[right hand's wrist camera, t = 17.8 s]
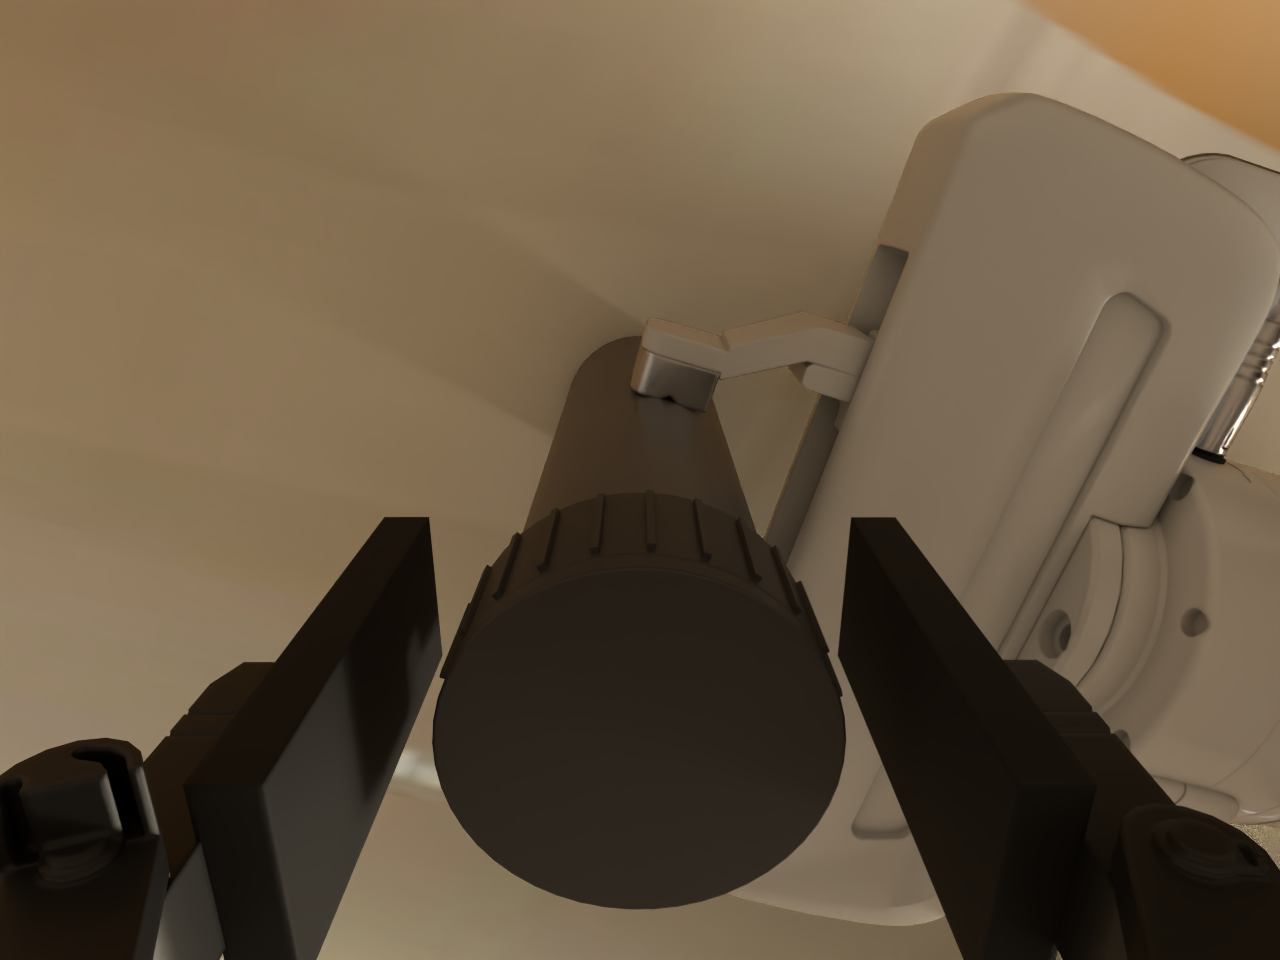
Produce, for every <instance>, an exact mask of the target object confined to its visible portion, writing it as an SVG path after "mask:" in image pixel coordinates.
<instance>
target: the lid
mask: <svg viewBox="0 0 1280 960" xmlns="http://www.w3.org/2000/svg"><path fill="white" fill-rule="evenodd" d="M829 652H830V650H829V648H828V645H827V643H826V640H825V638H824V635H823V633H822V630H821V628H820V626H819V623H818V621H817V618H816V616H815V613H814V611H813V608H812V606H811V603H810V601H809V598H808V596H807V593H806V591H805V588H804V586H803V584H802V582H801V581H798V582H796V581H795V580H794V578H793V576H792V574H791V573H790V571H789V569H788V568H787V566H786V564H785V563H784V560H783V557H782V555H781V552H780V549H779V548H778V547H777V546H776V545H775V546H774V547H771V546H770V545H769V544H768V543H767V542H766V541H765V540H764V539H763V538H761V537H760V536H759V535H758V534H757V533H756V532H755V531H753V530H752V529H750V528H749V527H748V526H747V525H746V522H745V520H744V519H742V518H741V517H738V519H736V518H734V517H732V516H730V515H728V514H727V513H725V512H723V511H721V510H719V509H717V508H714V507H711V506H709V505H706V504H703V503H702V500H701V499H698V498H695V499H694V500H691V499H687V498H683V497H679V496H674V495H667V494H658V493H654V491H653V490H646V493H620V494H612V495H604V493H601V494H597V496H596V498H592V499H588V500H584V501H580V502H577V503H575V504H572V505H570V506H567V507H565V508H562V509H560V510H559V509H558V508H555V509H553V510H551V512H550V515H549V516H547V517H545V518H543V519H541V520H540V521H538V522H536V523H535V524H534V525H532V526H531V527H530V528H528V529H527V530H526V531H524V532H523V533H522V534H519V533H518V532H517V533H516V534H515V535H513V536H512V539H511V542H510V545H509V546H508V547H507V548H506V549H505V550H504V551H503V552H502V554H501V555H500V556H499V558H498V559H497V560H496V562H495V563H494V564H493V566H492V567H490V566H488V565H487V566H486V567H485V569H484V571H483V573H482V576H481V578H480V581H479V583H478V586H477V588H476V591H475V593H474V596H473V598H472V601H471V603H468V606H467V608H466V611H465V613H464V616H463V618H462V621H461V623H460V626H459V628H458V630H457V633H456V635H455V638H454V640H453V643H452V645H451V648H450V650H449V653H448V655H447V658H446V660H445V663H444V665H443V668H442V670H441V673H440V678H443V679H445V680H444V683H443V685H442V688H441V691H440V693H439V696H438V699H437V704H436V709H435V714H434V719H433V739H432V744H433V753H434V761H435V767H436V770H437V774H438V778H439V781H440V785H441V788H442V790H443V793H444V795H445V797H446V799H447V802H448V804H449V806H450V808H451V810H452V811H453V813H454V815H455V816H456V818H457V819H458V821H459V822H460V824H461V826H462V827H463V828H464V830H465V831H466V832H467V833H468V834H469V836H470V837H471V838H472V839H473V840H474V841H475V843H476V844H477V845H478V846H479V847H480V848H481V849H482V850H483V851H485V852H486V853H487V854H488V855H489V856H490V857H491V858H492V859H493V860H494V861H496V862H497V863H499V864H500V865H501V866H503V867H504V868H505V869H507V870H508V871H510V872H511V873H512V874H514V875H516V876H518V877H519V878H521V879H523V880H525V881H527V882H528V883H530V884H532V885H534V886H536V887H538V888H541V889H543V890H545V891H548V892H550V893H552V894H555V895H557V896H561V897H564V898H567V899H571V900H574V901H577V902H581V903H586V904H591V905H596V906H601V907H609V908H620V909H659V908H669V907H678V906H683V905H688V904H692V903H697V902H702V901H705V900H708V899H711V898H715V897H718V896H721V895H724V894H727V893H729V892H731V891H733V890H736V889H738V888H740V887H742V886H745V885H747V884H749V883H751V882H752V881H754V880H756V879H757V878H759V877H761V876H763V875H764V874H766V873H768V872H769V871H771V870H772V869H773V868H775V867H776V866H777V865H779V864H780V863H781V862H783V861H784V860H785V859H787V858H788V857H789V856H790V855H791V854H792V853H793V852H794V851H795V850H796V849H797V848H798V847H799V846H800V845H801V844H802V843H803V842H804V841H805V840H806V839H807V838H808V836H809V835H810V834H811V833H812V831H813V830H814V829H815V828H816V826H817V825H818V824H819V822H820V820H821V819H822V817H823V815H824V814H825V812H826V810H827V809H828V807H829V806H830V803H831V801H832V799H833V796H834V794H835V791H836V789H837V787H838V784H839V780H840V776H841V772H842V768H843V764H844V759H845V748H846V727H845V715H844V711H843V707H842V702H841V698H840V697H842V696H843V694H842V689H841V686H840V684H839V681H838V679H837V676H836V674H835V671H834V669H833V666H832V664H831V661H830V659H829V656H828V653H829Z"/></svg>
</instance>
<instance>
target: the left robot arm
mask: <svg viewBox="0 0 1280 960" xmlns="http://www.w3.org/2000/svg"><path fill="white" fill-rule="evenodd" d="M1279 347H1280V172H1277V171H1274V170H1271V169H1268V168H1266V167H1263V166H1260V165H1257V164H1254V163H1251V162H1248V161H1245V160H1242V159H1239V158H1236V157H1233V156H1231V155H1227V154H1219V153H1203V154H1197V155H1192V156H1188V157H1185V158H1182V159H1179V158H1177V157H1175V156H1173V155H1171V154H1169V153H1168V152H1166V151H1164V150H1162V149H1160V148H1159V147H1157V146H1155V145H1153V144H1151V143H1149V142H1148V141H1146V140H1144V139H1141V138H1139V137H1137V136H1135V135H1133V134H1131V133H1129V132H1127V131H1125V130H1123V129H1121V128H1119V127H1117V126H1115V125H1113V124H1111V123H1109V122H1106V121H1104V120H1102V119H1100V118H1098V117H1095V116H1093V115H1091V114H1088V113H1086V112H1084V111H1081V110H1079V109H1076V108H1074V107H1072V106H1069V105H1067V104H1064V103H1061V102H1059V101H1056V100H1053V99H1051V98H1047V97H1044V96H1041V95H1037V94H1032V93H1002V94H996V95H990V96H986V97H983V98H979V99H976V100H974V101H971V102H969V103H966V104H964V105H962V106H960V107H958V108H956V109H954V110H952V111H949V112H947V113H946V114H944V115H942V116H940V117H938V118H936V119H934V120H932V121H930V122H929V123H928V124H926V125H925V126H924V127H923V128H922V130H921V131H920V132H919V134H918V136H917V138H916V140H915V142H914V145H913V147H912V150H911V153H910V155H909V158H908V160H907V163H906V166H905V168H904V171H903V174H902V176H901V179H900V181H899V184H898V187H897V189H896V192H895V195H894V197H893V200H892V203H891V205H890V208H889V210H888V213H887V216H886V218H885V221H884V224H883V226H882V229H881V231H880V234H879V237H878V239H877V242H876V245H875V247H874V250H873V252H872V255H871V258H870V260H869V263H868V266H867V268H866V271H865V273H864V276H863V279H862V281H861V284H860V287H859V289H858V292H857V294H856V297H855V300H854V302H853V305H852V308H851V310H850V313H849V316H848V318H847V321H846V323H845V324H843V323H840V322H837V321H833V320H830V319H827V318H823V317H820V316H816V315H813V314H810V313H806V312H803V311H801V312H797V313H793V314H790V315H786V316H782V317H778V318H774V319H770V320H766V321H762V322H758V323H754V324H750V325H746V326H742V327H738V328H734V329H730V330H726V331H722V333H721V336H717V335H714V334H710V333H707V332H703V331H700V330H697V329H693V328H690V327H687V326H683V325H680V324H677V323H673V322H670V321H666V320H662V319H656V318H647V322H646V325H645V329H644V332H643V336H642V338H641V342H640V345H639V349H638V353H637V356H636V360H635V364H634V367H633V371H632V375H631V379H630V380H631V382H630V387H631V388H632V389H633V390H634V391H636V392H638V393H640V394H642V395H645V396H648V397H651V398H657V399H661V398H665V397H668V396H671V397H672V399H673V400H674V401H675V402H676V404H678V405H680V406H683V407H686V408H689V409H693V410H697V411H700V412H704V413H706V411H707V409H708V406H709V403H710V400H711V398H712V395H713V392H714V389H715V386H716V384H717V381H718V378H719V379H720V380H723V379H728V378H732V377H737V376H742V375H746V374H751V373H755V372H760V371H765V370H769V369H774V368H779V367H783V366H787V367H788V369H789V370H790V371H791V372H792V374H793V375H794V376H795V377H796V379H797V380H798V381H799V382H800V384H801V385H802V386H803V387H804V389H807V390H810V391H813V392H816V393H819V394H818V397H817V400H816V402H815V405H814V407H813V410H812V413H811V415H810V418H809V421H808V423H807V426H806V428H805V431H804V434H803V436H802V439H801V442H800V444H799V447H798V450H797V452H796V455H795V457H794V460H793V463H792V465H791V468H790V471H789V473H788V476H787V478H786V481H785V484H784V486H783V489H782V492H781V494H780V497H779V499H778V502H777V505H776V507H775V510H774V513H773V515H772V518H771V520H770V523H769V526H768V528H767V531H766V534H765V536H764V540H765V541H766V542H767V543H768V544H769V545H770V546H771V547H774V546H775V545H776V546H777V547H778V548H779V549H780V552H781V555H782V557H783V560H784V563H785V564H786V566H787V568H788V569H789V571H790V573H791V574H792V576H793V578H794V580H795V581H796V582H798V581H801V582H802V584H803V586H804V588H805V591H806V593H807V596H808V598H809V601H810V603H811V606H812V608H813V611H814V613H815V616H816V618H817V621H818V623H819V626H820V628H821V630H822V633H823V635H824V638H825V640H826V643H827V645H828V648H829V650H830V652H829V653H828V656H829V659H830V661H831V664H832V666H833V669H834V671H835V674H836V676H837V679H838V681H839V684H840V686H841V689H842V694H843V696H842V697H840V698H841V702H842V707H843V711H844V715H845V727H846V748H845V759H844V764H843V768H842V772H841V776H840V780H839V784H838V787H837V789H836V791H835V794H834V796H833V799H832V801H831V803H830V806H829V807H828V809H827V810H826V812H825V814H824V815H823V817H822V819H821V820H820V822H819V824H818V825H817V826H816V828H815V829H814V830H813V831H812V833H811V834H810V835H809V836H808V838H807V839H806V840H805V841H804V842H803V843H802V844H801V845H800V846H799V847H798V848H797V849H796V850H795V851H794V852H793V853H792V854H791V855H790V856H789V857H788V858H787V859H785V860H784V861H783V862H781V863H780V864H779V865H777V866H776V867H775V868H773V869H772V870H771V871H769V872H768V873H766V874H764V875H763V876H761V877H759V878H757V879H756V880H754V881H752V882H751V883H749V884H747V885H745V886H742V887H740V888H738V889H736V890H733V891H731V892H729V893H727V894H729V895H731V896H734V897H738V898H742V899H746V900H750V901H754V902H758V903H762V904H766V905H770V906H774V907H779V908H784V909H788V910H793V911H797V912H802V913H808V914H813V915H818V916H824V917H829V918H835V919H841V920H847V921H853V922H859V923H866V924H874V925H888V926H905V925H916V924H922V923H926V922H930V921H934V920H936V919H939V918H941V917H944V916H945V913H944V911H943V909H942V906H941V904H940V901H939V899H938V896H937V894H936V892H935V889H934V887H933V884H932V882H931V880H930V877H929V875H928V872H927V870H926V868H925V865H924V863H923V860H922V858H921V855H920V853H919V851H918V848H917V846H916V843H915V841H914V839H913V836H912V834H911V831H910V829H909V826H908V824H907V822H906V819H905V817H904V814H903V812H902V810H901V807H900V805H899V802H898V800H897V797H896V795H895V793H894V790H893V788H892V785H891V783H890V781H889V778H888V776H887V773H886V771H885V769H884V766H883V764H882V761H881V759H880V756H879V754H878V752H877V749H876V747H875V744H874V742H873V740H872V737H871V735H870V732H869V730H868V727H867V725H866V723H865V720H864V718H863V715H862V713H861V711H860V708H859V706H858V703H857V701H856V698H855V696H854V694H853V691H852V689H851V686H850V684H849V682H848V679H847V677H846V674H845V672H844V670H843V667H842V665H841V662H840V660H839V657H838V647H839V636H840V626H841V616H842V605H843V595H844V585H845V574H846V564H847V553H848V543H849V533H850V522H851V517H896V519H897V520H898V521H899V523H900V524H901V525H902V527H903V528H904V529H905V531H906V532H907V533H908V535H909V536H910V537H911V538H912V540H913V541H914V542H915V544H916V545H917V546H918V548H919V549H920V550H921V552H922V553H923V554H924V556H925V557H926V558H927V560H928V561H929V562H930V564H931V565H932V566H933V568H934V569H935V570H936V572H937V573H938V574H939V576H940V577H941V578H942V580H943V581H944V582H945V584H946V585H947V586H948V588H949V589H950V590H951V592H952V593H953V594H954V596H955V597H956V598H957V600H958V601H959V602H960V604H961V605H962V606H963V608H964V609H965V610H966V611H967V613H968V614H969V615H970V617H971V618H972V619H973V621H974V622H975V623H976V625H977V626H978V627H979V629H980V630H981V631H982V633H983V634H984V635H985V637H986V638H987V639H988V641H989V642H990V643H991V645H992V646H993V647H994V649H995V650H996V651H997V653H998V654H999V655H1000V657H1001V658H1002V659H1003V660H1038V661H1040V662H1041V663H1043V664H1044V665H1046V666H1047V667H1049V668H1050V669H1052V670H1054V671H1055V672H1057V673H1058V674H1060V675H1061V676H1063V677H1064V678H1066V679H1067V680H1069V681H1070V682H1071V683H1072V684H1073V685H1074V686H1075V687H1076V689H1077V690H1078V691H1079V692H1080V693H1081V694H1082V696H1083V697H1084V698H1085V699H1086V700H1087V701H1088V703H1089V704H1090V705H1091V706H1092V711H1093V712H1097V713H1098V714H1099V715H1100V717H1101V718H1102V719H1103V720H1104V721H1105V722H1106V724H1107V725H1108V726H1109V727H1110V732H1111V733H1115V734H1116V735H1117V736H1118V738H1119V739H1120V740H1121V741H1122V742H1123V743H1124V745H1125V746H1126V747H1127V748H1128V749H1129V751H1130V752H1131V753H1132V754H1133V755H1134V756H1135V758H1136V759H1137V760H1138V761H1139V762H1140V763H1141V765H1142V766H1143V767H1144V768H1145V769H1146V770H1147V772H1148V773H1149V774H1150V775H1151V776H1152V777H1153V779H1154V780H1155V781H1156V782H1157V783H1158V784H1159V786H1160V787H1161V788H1162V789H1163V790H1164V791H1165V793H1166V794H1167V795H1168V796H1169V797H1170V798H1171V800H1172V801H1173V802H1174V803H1175V804H1176V805H1178V806H1184V807H1188V808H1191V809H1194V810H1197V811H1200V812H1203V813H1206V814H1209V815H1212V816H1214V817H1216V818H1218V819H1220V820H1222V821H1224V822H1225V823H1227V824H1228V823H1231V824H1240V825H1263V826H1272V827H1275V828H1278V829H1280V476H1279V475H1276V474H1272V473H1269V472H1266V471H1262V470H1259V469H1256V468H1252V467H1249V466H1246V465H1242V464H1239V463H1236V462H1233V461H1229V460H1226V459H1224V458H1223V457H1224V456H1225V455H1226V453H1227V451H1228V448H1230V446H1231V444H1232V442H1233V441H1234V439H1235V437H1236V435H1237V433H1238V432H1239V430H1240V428H1241V426H1242V425H1243V423H1244V421H1245V419H1246V418H1247V416H1248V414H1249V412H1250V411H1251V409H1252V407H1253V405H1254V404H1255V402H1256V400H1257V398H1258V396H1259V394H1260V392H1261V390H1262V387H1263V385H1262V383H1263V382H1265V380H1266V377H1267V375H1268V374H1267V371H1269V370H1270V368H1271V366H1272V363H1273V362H1272V361H1271V360H1272V359H1275V357H1276V355H1277V353H1278V352H1279V350H1278V348H1279Z"/></svg>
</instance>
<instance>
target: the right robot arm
mask: <svg viewBox="0 0 1280 960" xmlns="http://www.w3.org/2000/svg"><path fill="white" fill-rule="evenodd" d="M441 657H442V647H441V636H440V626H439V615H438V605H437V595H436V584H435V574H434V564H433V553H432V543H431V533H430V522H429V517H384V519H383V520H382V521H381V523H380V524H379V525H378V527H377V528H376V529H375V531H374V532H373V533H372V535H371V536H370V537H369V539H368V540H367V541H366V542H365V544H364V545H363V546H362V548H361V549H360V550H359V552H358V553H357V554H356V556H355V557H354V558H353V560H352V561H351V562H350V564H349V565H348V566H347V568H346V569H345V570H344V572H343V573H342V574H341V576H340V577H339V578H338V580H337V581H336V582H335V584H334V585H333V586H332V588H331V589H330V590H329V592H328V593H327V594H326V596H325V597H324V598H323V600H322V601H321V602H320V604H319V605H318V606H317V608H316V609H315V610H314V612H313V613H312V614H311V615H310V617H309V618H308V619H307V621H306V622H305V623H304V625H303V626H302V627H301V629H300V630H299V631H298V633H297V634H296V635H295V637H294V638H293V639H292V641H291V642H290V643H289V645H288V646H287V647H286V649H285V650H284V651H283V653H282V654H281V655H280V657H279V658H278V659H277V661H276V662H243V663H242V664H240V665H239V666H237V667H236V668H234V669H233V670H231V671H230V672H228V673H226V674H225V675H223V676H222V677H220V678H219V679H217V680H216V681H214V682H213V683H211V684H210V685H209V686H208V687H207V688H206V690H205V691H204V692H203V693H202V694H201V695H200V697H199V698H198V699H197V700H196V701H195V703H194V704H193V705H192V706H191V707H190V708H189V712H188V715H183V717H182V718H181V719H180V720H179V721H178V723H177V724H176V725H175V726H174V727H173V728H172V730H171V733H170V736H166V737H165V738H164V739H163V740H162V741H161V743H160V744H159V745H158V746H157V747H156V748H155V750H154V751H153V752H152V753H151V754H150V756H149V757H148V758H147V759H146V760H145V761H144V762H143V759H142V755H141V751H140V750H138V749H137V748H136V747H135V746H133V745H132V744H131V743H129V742H128V741H122V740H116V739H110V738H99V739H89V740H79V741H75V742H72V743H68V744H65V745H61V746H58V747H54V748H51V749H47V750H45V751H43V752H41V753H39V754H37V755H34V756H32V757H30V758H28V759H26V760H24V761H22V762H20V763H18V764H16V765H14V766H13V767H12V768H10V769H9V770H7V771H6V772H5V773H3V774H2V775H0V960H219V959H220V957H221V956H222V954H223V956H224V960H316V959H317V957H318V954H319V952H320V950H321V947H322V945H323V942H324V940H325V938H326V935H327V933H328V930H329V928H330V925H331V923H332V921H333V918H334V916H335V913H336V911H337V909H338V906H339V904H340V901H341V899H342V896H343V894H344V892H345V889H346V887H347V884H348V882H349V880H350V877H351V875H352V872H353V870H354V868H355V865H356V863H357V860H358V858H359V855H360V853H361V851H362V848H363V846H364V843H365V841H366V839H367V836H368V834H369V831H370V829H371V826H372V824H373V822H374V819H375V817H376V814H377V812H378V810H379V807H380V805H381V802H382V800H383V797H384V795H385V793H386V790H387V788H388V785H389V783H390V781H391V778H392V776H393V773H394V771H395V769H396V766H397V764H398V761H399V759H400V756H401V754H402V752H403V749H404V747H405V744H406V742H407V740H408V737H409V735H410V732H411V730H412V727H413V725H414V723H415V720H416V718H417V715H418V713H419V711H420V708H421V706H422V703H423V701H424V698H425V696H426V694H427V691H428V689H429V686H430V684H431V682H432V679H433V677H434V674H435V672H436V670H437V667H438V665H439V662H440V660H441ZM838 657H839V660H840V662H841V665H842V667H843V670H844V672H845V674H846V677H847V679H848V682H849V684H850V686H851V689H852V691H853V694H854V696H855V698H856V701H857V703H858V706H859V708H860V711H861V713H862V715H863V718H864V720H865V723H866V725H867V727H868V730H869V732H870V735H871V737H872V740H873V742H874V744H875V747H876V749H877V752H878V754H879V756H880V759H881V761H882V764H883V766H884V769H885V771H886V773H887V776H888V778H889V781H890V783H891V785H892V788H893V790H894V793H895V795H896V797H897V800H898V802H899V805H900V807H901V810H902V812H903V814H904V817H905V819H906V822H907V824H908V826H909V829H910V831H911V834H912V836H913V839H914V841H915V843H916V846H917V848H918V851H919V853H920V855H921V858H922V860H923V863H924V865H925V868H926V870H927V872H928V875H929V877H930V880H931V882H932V884H933V887H934V889H935V892H936V894H937V896H938V899H939V901H940V904H941V906H942V909H943V911H944V913H945V916H946V918H947V921H948V923H949V925H950V928H951V930H952V933H953V935H954V938H955V940H956V942H957V945H958V947H959V950H960V952H961V954H962V957H963V959H964V960H1056V956H1057V952H1058V951H1059V953H1060V955H1061V957H1062V959H1063V960H1280V870H1279V869H1278V867H1277V866H1276V864H1275V863H1274V862H1273V860H1272V859H1271V857H1270V856H1269V855H1268V853H1267V852H1266V851H1265V850H1264V849H1263V848H1262V847H1261V846H1259V845H1258V844H1257V843H1256V842H1254V841H1253V840H1252V839H1251V838H1250V837H1248V836H1247V835H1246V834H1245V833H1243V832H1242V831H1240V830H1239V829H1237V828H1235V827H1233V826H1231V825H1229V824H1227V823H1225V822H1224V821H1222V820H1220V819H1218V818H1216V817H1214V816H1212V815H1209V814H1206V813H1203V812H1200V811H1197V810H1194V809H1191V808H1188V807H1184V806H1178V805H1176V804H1175V803H1174V802H1173V801H1172V800H1171V798H1170V797H1169V796H1168V795H1167V794H1166V793H1165V791H1164V790H1163V789H1162V788H1161V787H1160V786H1159V784H1158V783H1157V782H1156V781H1155V780H1154V779H1153V777H1152V776H1151V775H1150V774H1149V773H1148V772H1147V770H1146V769H1145V768H1144V767H1143V766H1142V765H1141V763H1140V762H1139V761H1138V760H1137V759H1136V758H1135V756H1134V755H1133V754H1132V753H1131V752H1130V751H1129V749H1128V748H1127V747H1126V746H1125V745H1124V743H1123V742H1122V741H1121V740H1120V739H1119V738H1118V736H1117V735H1116V734H1115V733H1111V732H1110V727H1109V726H1108V725H1107V724H1106V722H1105V721H1104V720H1103V719H1102V718H1101V717H1100V715H1099V714H1098V713H1097V712H1093V711H1092V706H1091V705H1090V704H1089V703H1088V701H1087V700H1086V699H1085V698H1084V697H1083V696H1082V694H1081V693H1080V692H1079V691H1078V690H1077V689H1076V687H1075V686H1074V685H1073V684H1072V683H1071V682H1070V681H1069V680H1067V679H1066V678H1064V677H1063V676H1061V675H1060V674H1058V673H1057V672H1055V671H1054V670H1052V669H1050V668H1049V667H1047V666H1046V665H1044V664H1043V663H1041V662H1040V661H1038V660H1003V659H1002V658H1001V657H1000V655H999V654H998V653H997V651H996V650H995V649H994V647H993V646H992V645H991V643H990V642H989V641H988V639H987V638H986V637H985V635H984V634H983V633H982V631H981V630H980V629H979V627H978V626H977V625H976V623H975V622H974V621H973V619H972V618H971V617H970V615H969V614H968V613H967V611H966V610H965V609H964V608H963V606H962V605H961V604H960V602H959V601H958V600H957V598H956V597H955V596H954V594H953V593H952V592H951V590H950V589H949V588H948V586H947V585H946V584H945V582H944V581H943V580H942V578H941V577H940V576H939V574H938V573H937V572H936V570H935V569H934V568H933V566H932V565H931V564H930V562H929V561H928V560H927V558H926V557H925V556H924V554H923V553H922V552H921V550H920V549H919V548H918V546H917V545H916V544H915V542H914V541H913V540H912V538H911V537H910V536H909V535H908V533H907V532H906V531H905V529H904V528H903V527H902V525H901V524H900V523H899V521H898V520H897V519H896V517H851V522H850V533H849V543H848V553H847V564H846V574H845V585H844V595H843V605H842V616H841V626H840V636H839V647H838Z"/></svg>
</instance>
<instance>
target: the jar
mask: <svg viewBox="0 0 1280 960" xmlns="http://www.w3.org/2000/svg"><path fill="white" fill-rule="evenodd" d="M641 338H642V336H635V337H626V338H622V339H618V340H615V341H613V342H610V343H608V344H606V345H604V346H603V347H601V348H599V349H598V350H597V351H595V352H594V353H593V354H591V355H590V356H589V357H588V358H587V359H586V360H585V362H584V363H583V364H582V366H581V367H580V368H579V370H578V372H577V373H576V375H575V377H574V380H573V382H572V385H571V388H570V391H569V394H568V397H567V400H566V403H565V406H564V409H563V412H562V415H561V418H560V421H559V424H558V427H557V430H556V433H555V436H554V439H553V442H552V445H551V448H550V451H549V454H548V457H547V460H546V463H545V466H544V469H543V472H542V476H541V479H540V482H539V485H538V488H537V491H536V494H535V497H534V500H533V503H532V506H531V509H530V512H529V515H528V518H527V521H526V524H525V527H524V530H523V532H524V531H526V530H527V529H528V528H530V527H531V526H532V525H534V524H535V523H536V522H538V521H540V520H541V519H543V518H545V517H547V516H549V515H550V512H551V510H553V509H555V508H558V509H559V510H560V509H562V508H565V507H567V506H570V505H572V504H575V503H577V502H580V501H584V500H588V499H592V498H596V496H597V494H601V493H604V495H612V494H620V493H646V490H653V491H654V493H658V494H667V495H674V496H679V497H683V498H687V499H691V500H694V499H695V498H698V499H701V500H702V503H703V504H706V505H709V506H711V507H714V508H717V509H719V510H721V511H723V512H725V513H727V514H728V515H730V516H732V517H734V518H736V519H738V517H741V518H742V519H744V520H745V522H746V525H747V526H748V527H749V528H750V529H752V530H753V531H755V532H756V530H755V527H754V524H753V521H752V518H751V515H750V512H749V509H748V506H747V503H746V500H745V497H744V494H743V491H742V487H741V484H740V481H739V478H738V475H737V472H736V469H735V466H734V463H733V460H732V457H731V454H730V451H729V448H728V445H727V442H726V439H725V436H724V433H723V430H722V427H721V424H720V420H719V417H718V414H717V411H716V408H715V405H714V402H713V399H712V398H711V400H710V403H709V406H708V409H707V411H706V413H704V412H700V411H697V410H693V409H689V408H686V407H683V406H680V405H678V404H676V402H675V401H674V400H673V399H672V397H671V396H668V397H665V398H661V399H657V398H651V397H648V396H645V395H642V394H640V393H638V392H636V391H634V390H633V389H632V388H631V387H630V382H631V380H630V379H631V375H632V371H633V367H634V364H635V360H636V356H637V353H638V349H639V345H640V342H641Z"/></svg>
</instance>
